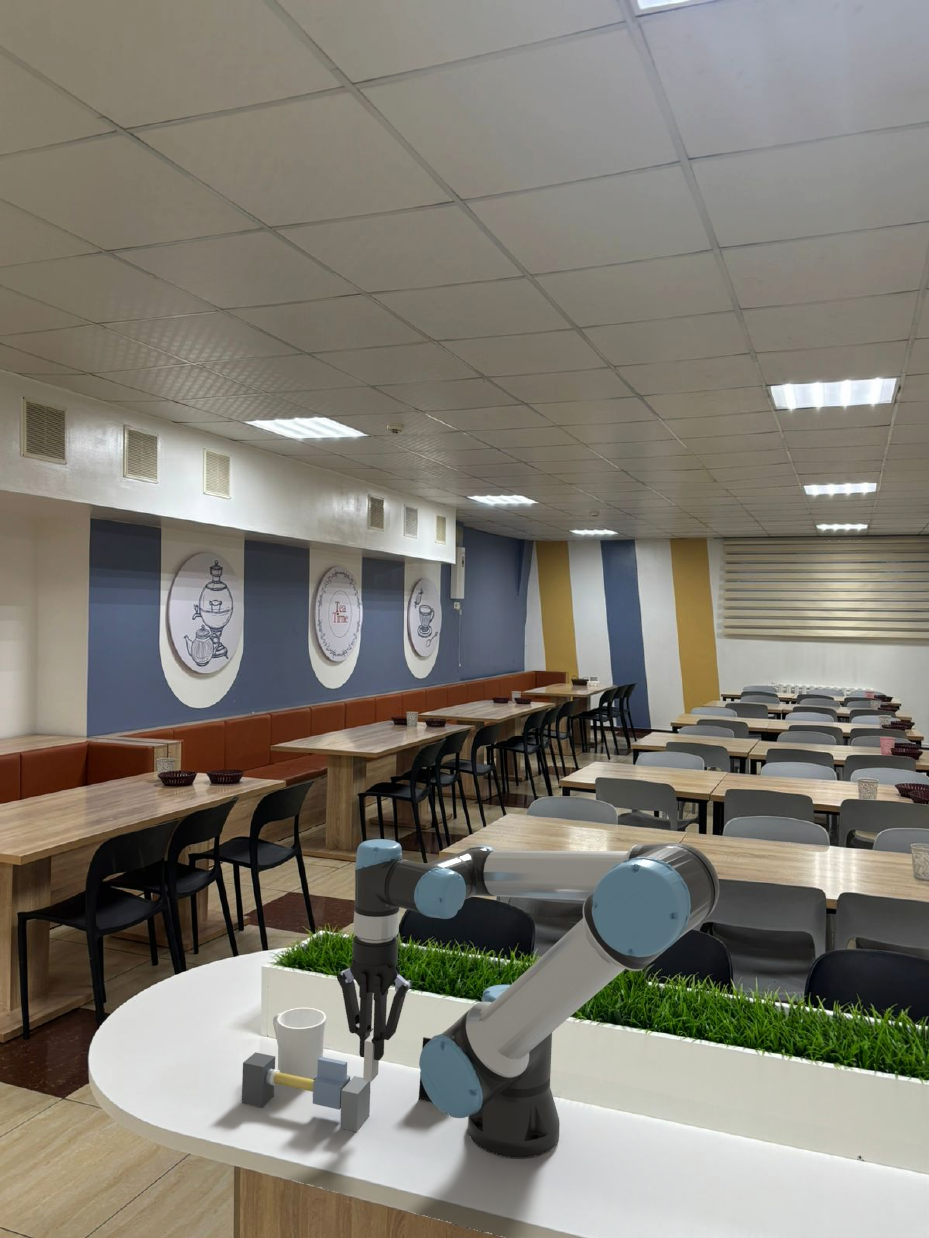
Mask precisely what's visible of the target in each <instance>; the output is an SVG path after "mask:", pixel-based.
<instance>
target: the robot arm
mask: <svg viewBox="0 0 929 1238" xmlns="http://www.w3.org/2000/svg"><path fill="white" fill-rule="evenodd" d="M355 858H356V860H355V867H354V876H355V877H354V881H355V882H354V908H353V909H354V910H353V912H354V913H353V927H352V928H353V929H352V932H353V934H354V936H353V938H352V961H351V963H350V966H349V968H344V969H343V970H342V971H341V972H339V973H338V974H337V975H336V980H337V982H338V984H339V986H340V988H341V990H342V997H343V1001H344V1002H343V1003H344V1008H345V1015H346V1019H347V1024H348V1025H347V1026H348V1031H349V1033H351V1034H356V1035H357V1036H358V1037H359V1053H358V1054H359V1057H360V1058H363V1076H362V1078H363V1080H365V1081H370V1082H371V1083H372V1082H373V1080H375V1078H376V1077H378V1075H379V1062H380V1061H381V1059H382V1058H383V1056H384V1055H385V1040H386V1041H389V1040H390V1039H391V1038H392V1037H393V1036H394V1035H395V1034H396V1032H397V1028H398V1025H399V1021H400V1017H401V1014H402V1009H403V1007H404V1003H405V998H406V994H407V993H408V992H409V991H410V989H411V988H412V986H413V982H412V980H410V979H407V980H406V979H405V978H404V977H403V976H402V975H400V972H401V971H400V968H399V966H398V955H399V937H398V934H399V931H400V930H399V925H400V908H401V909H405V910H408V911H412V912H415V913H418V914H421V915H423V916H425V917H428V918H434V919H435V918H437V919H442V920H443V919H444V920H447V919H449V920H450V919H451V918H454V917H455V916H456V915H457V914H458V911H459V910H461V909H462V907H463V906H464V902H465V900H466V899H469V898H470V899H471V898H472V897H473V898H474V897H502V898H503V897H504V898H506V897H507V898H526V899H527V898H528V899H547V900H570V901H571V900H572V901H584V903H583V905H582V918H581V919H580V920H579V921H578V922H577V923H576V924H575V925H574V926H573V927H572V928H570V929H569V931H567V932H566V934H564V935H563V936H562V937H561V938H560V939H559V940H557V942H556V943H555V944H553V945H552V946H551V947H550V948H549V949H548V950H547V951H546V952H545V953H544V954H543V955H542V956H540V958H538V960H536V961H535V962H534V963H533V964H532V965H531V966H530V967H529V968H528V969H527V970H526V971H525V972H523V973H522V974H521V975H520V976H519V977H518V978H517V979H516V980H515V981H513V983H512V984H497V985H495V984H494V985H492V986H488V987H487V988H485V990H484V991H483V993H482V998H481V1001H480V1002H477V1003H475V1004H474V1005H472V1007H470V1008H469V1009H468V1010H466V1012H465V1013H464V1014H463V1015H461V1016H460V1017H459V1019H457V1020H456V1021H455V1022H454V1023H453V1024H452V1025H451V1026H450V1027H448V1028H447V1029H446V1030H445V1031H443V1032H442V1033H440V1034H438V1035H437V1034H436V1035H433V1036H432V1037H431V1038H432V1039H431V1040H430V1041H429V1042H428V1043H427V1044H426V1045H425V1046H424V1048H423V1049H422V1050H421V1052H420V1055H419V1063H418V1064H419V1068H420V1069H419V1070H420V1071H419V1077H420V1076H421V1080H422V1083H423V1086H424V1089H425V1091H426V1093H427V1094H428V1096H429V1098H430V1099H431V1101H432V1102H431V1103H433V1105H434V1106H435V1107H436V1108H437V1109H438V1110H439V1111H440V1112H442V1113H443V1114H448V1116H449V1117H451V1118H455V1119H464V1118H467V1117H468V1118H467V1133H468V1135H469V1138H470V1139H471V1140H472V1142H473V1143H474V1144H475V1145H477V1147H479V1148H481V1149H482V1150H483V1151H485V1152H487V1153H490V1154H493V1155H496V1156H499V1157H503V1158H512V1159H525V1158H526V1159H527V1158H534V1157H537V1156H540V1155H542V1154H545V1153H548V1152H549V1151H550V1150H552V1149H553V1148H554V1147H556V1145H557V1143H558V1141H559V1139H560V1117H559V1114H558V1110H557V1106H556V1103H555V1099H554V1096H553V1093H552V1088H551V1072H552V1070H551V1068H552V1047H553V1046H552V1045H553V1044H552V1043H553V1042H552V1041H553V1040H552V1039H553V1032H554V1031H555V1030H556V1029H558V1028H559V1027H560V1026H561V1025H562V1024H563V1023H564V1022H565V1021H567V1019H569V1018H571V1016H572V1015H574V1014H575V1013H576V1012H577V1011H579V1009H581V1008H582V1007H583V1006H584V1005H585V1004H586V1003H588V1002H589V1001H590V1000H591V999H592V998H593V997H594V996H596V995H597V994H598V993H599V992H600V991H601V990H603V989H604V988H605V987H606V986H607V985H608V984H609V983H611V982H612V981H613V980H614V979H615V978H616V977H617V976H618V975H619V974H621V973H623V971H625V970H628V971H632V972H639V971H641V970H644V969H645V968H646V967H647V966H648V965H650V964H651V963H652V962H654V961H655V960H656V959H657V958H658V957H659V956H660V955H662V954H663V953H664V952H666V950H667V949H668V948H670V947H672V946H673V945H674V944H675V943H676V942H677V941H678V940H679V939H680V938H681V937H684V935H686V934H687V933H688V932H690V931H691V930H693V929H694V928H696V926H698V925H700V924H701V923H702V922H704V921H705V920H707V918H709V917H710V916H711V915H712V913H713V912H714V910H715V908H716V906H717V904H718V900H719V896H720V882H719V875H718V873H717V871H716V869H715V866H714V865H713V863H712V862H711V860H710V859H709V858H708V857H707V856H706V855H705V854H704V853H703V852H702V851H701V850H699V849H697V848H696V847H694V846H691V845H689V844H687V843H681V842H668V843H653V844H652V843H650V844H647V843H646V844H634V845H633V846H631V848H630V849H629V850H528V849H527V850H524V849H523V850H516V849H515V850H514V849H513V850H510V849H509V850H507V849H506V850H505V849H501V850H500V849H494V848H493V847H491V846H488V845H480V846H473V847H469V848H467V849H465V850H463V851H460V852H456V853H454V854H452V855H449V856H445V857H441V858H440V859H439V858H438V859H436V860H432V861H430V862H427V863H426V862H425V863H424V862H418V861H413V860H412V861H411V860H409V859H405V858H403V853H402V846H401V844H400V843H399V842H397V841H395V840H392V839H383V838H379V839H378V838H377V839H368V840H365V841H363V842H361V843H360V844H359V845H358V847H357V850H356V856H355ZM354 980H355V981H354ZM355 982H356V984H357V985H358V987H359V990H358V991H359V994H357V989H356V984H355ZM394 983H395V986H394V991H395V994H394V996H393V998H392V1001H391V1002H392V1003H391V1006H390V1010H389V1013H388V1017H387V1009H388V1007H387V1004H388V994H389V989H390V988H391V986H392V985H393V984H394ZM358 998H359V999H358ZM358 1000H359V1001H358ZM373 1002H374V1003H373ZM373 1005H374V1006H373ZM372 1023H373V1025H372ZM372 1032H373V1033H372Z"/></svg>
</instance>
